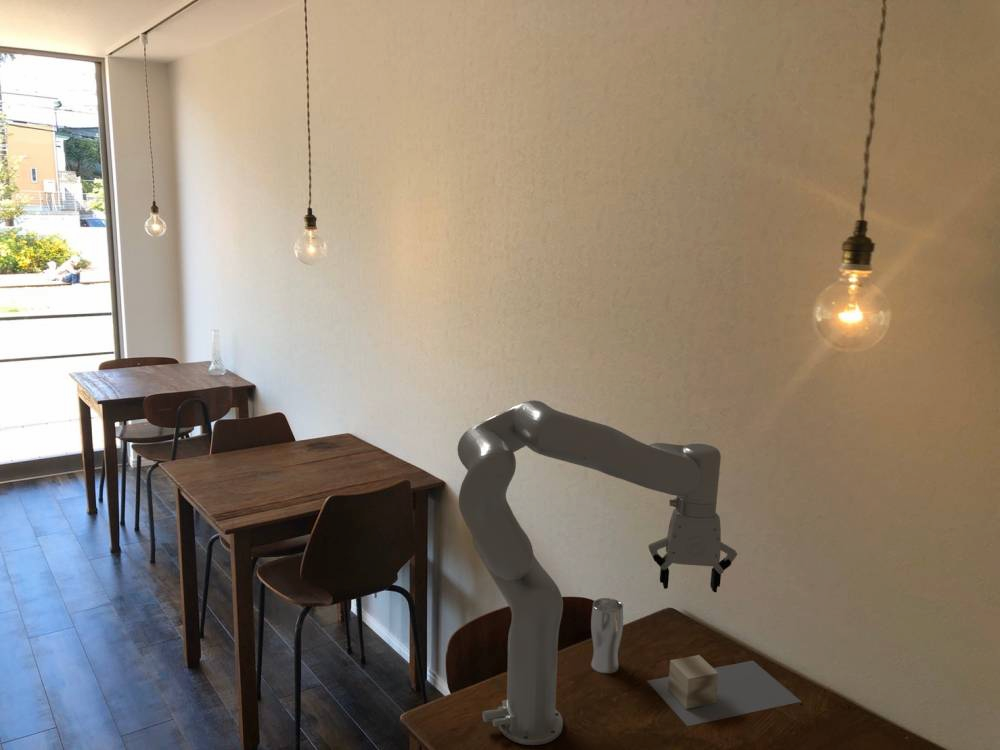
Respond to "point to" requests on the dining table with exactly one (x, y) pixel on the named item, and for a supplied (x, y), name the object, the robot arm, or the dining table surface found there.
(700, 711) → the rubber mat
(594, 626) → the beer glass
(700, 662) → the birch cube
